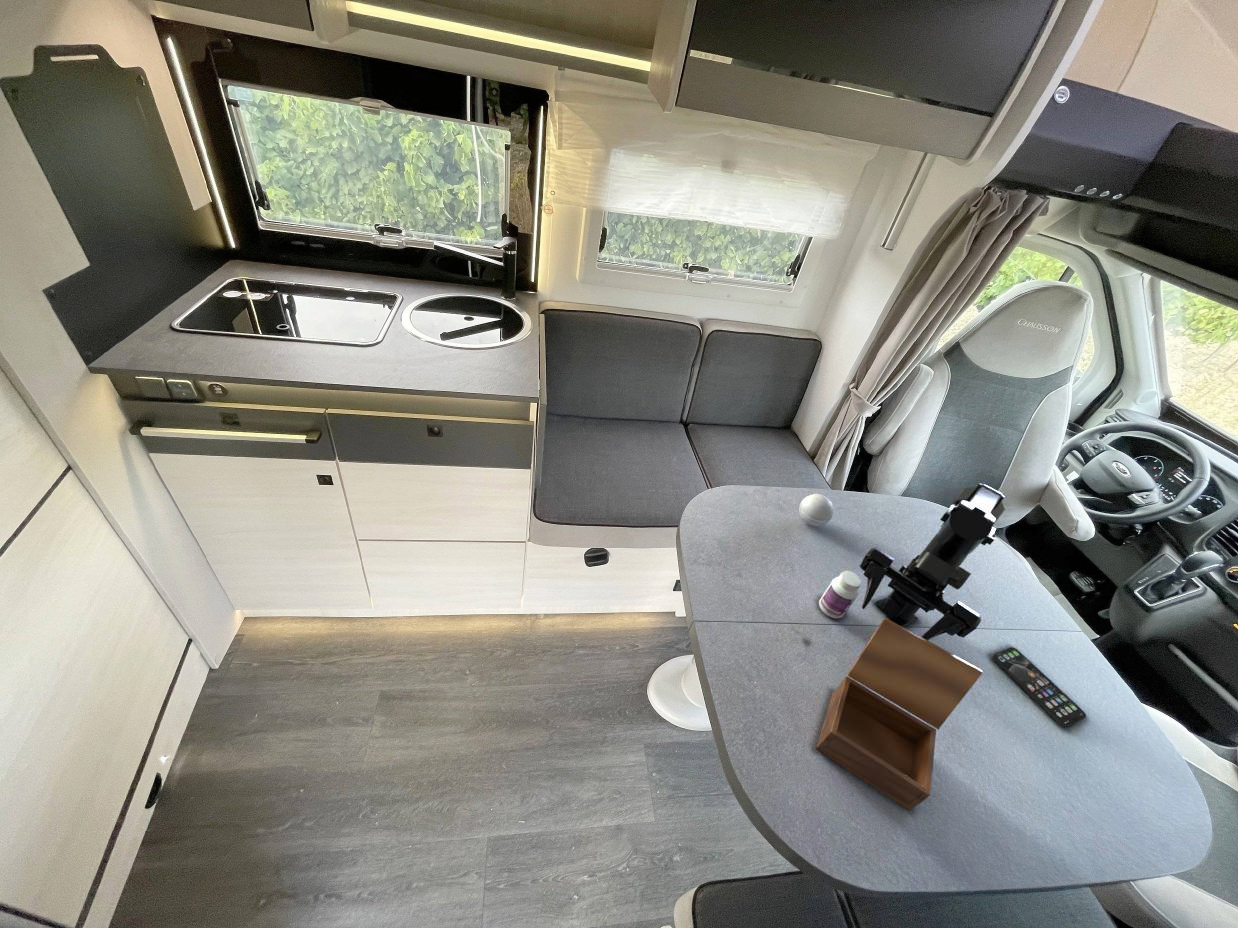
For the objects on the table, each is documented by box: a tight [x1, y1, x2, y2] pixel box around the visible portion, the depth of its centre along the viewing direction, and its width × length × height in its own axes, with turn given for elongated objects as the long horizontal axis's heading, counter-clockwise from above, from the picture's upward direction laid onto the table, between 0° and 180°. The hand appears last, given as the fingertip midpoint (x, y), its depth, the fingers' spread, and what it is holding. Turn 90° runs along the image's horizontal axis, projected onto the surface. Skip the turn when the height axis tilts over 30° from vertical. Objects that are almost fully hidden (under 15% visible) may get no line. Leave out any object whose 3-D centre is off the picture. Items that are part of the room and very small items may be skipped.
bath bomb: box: [798, 493, 835, 527], centre depth 123 cm, size 8×8×8 cm
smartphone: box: [991, 646, 1087, 729], centre depth 96 cm, size 7×1×15 cm
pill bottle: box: [818, 570, 862, 619], centre depth 101 cm, size 5×5×10 cm
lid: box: [847, 617, 984, 730], centre depth 80 cm, size 12×15×1 cm
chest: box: [815, 675, 937, 811], centre depth 80 cm, size 12×15×6 cm
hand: (888, 626), depth 83 cm, fingers open, 9 cm apart
